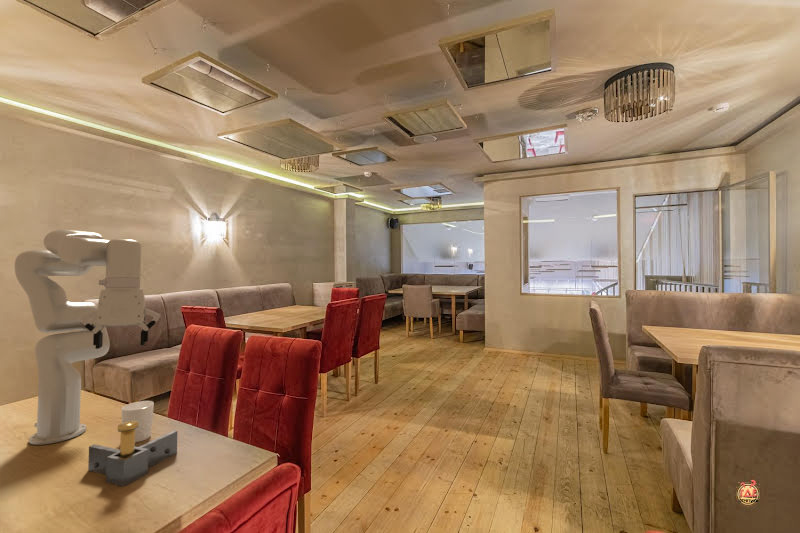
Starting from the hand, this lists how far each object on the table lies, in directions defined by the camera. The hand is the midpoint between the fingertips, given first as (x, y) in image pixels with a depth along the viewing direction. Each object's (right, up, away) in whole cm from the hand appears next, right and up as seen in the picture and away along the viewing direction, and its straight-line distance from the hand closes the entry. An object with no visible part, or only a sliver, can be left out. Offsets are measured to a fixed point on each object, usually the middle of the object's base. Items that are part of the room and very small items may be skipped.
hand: (121, 346), depth 95 cm
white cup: (-4, -31, +11) cm, 33 cm away
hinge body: (+6, -30, -4) cm, 31 cm away
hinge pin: (+10, -30, -10) cm, 33 cm away
